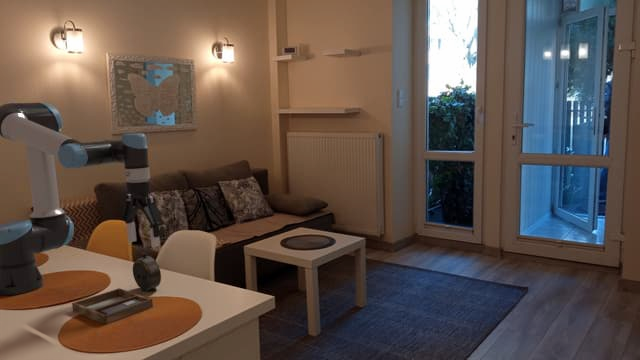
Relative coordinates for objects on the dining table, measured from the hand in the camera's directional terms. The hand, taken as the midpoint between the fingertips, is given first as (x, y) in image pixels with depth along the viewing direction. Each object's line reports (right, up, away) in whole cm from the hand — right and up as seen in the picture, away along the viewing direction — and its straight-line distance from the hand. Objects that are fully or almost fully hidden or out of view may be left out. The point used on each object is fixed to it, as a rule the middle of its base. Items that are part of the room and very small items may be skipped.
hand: (143, 244), depth 172 cm
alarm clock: (0, -17, +2) cm, 17 cm away
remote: (0, -18, -17) cm, 25 cm away
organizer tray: (-5, -19, -14) cm, 24 cm away
